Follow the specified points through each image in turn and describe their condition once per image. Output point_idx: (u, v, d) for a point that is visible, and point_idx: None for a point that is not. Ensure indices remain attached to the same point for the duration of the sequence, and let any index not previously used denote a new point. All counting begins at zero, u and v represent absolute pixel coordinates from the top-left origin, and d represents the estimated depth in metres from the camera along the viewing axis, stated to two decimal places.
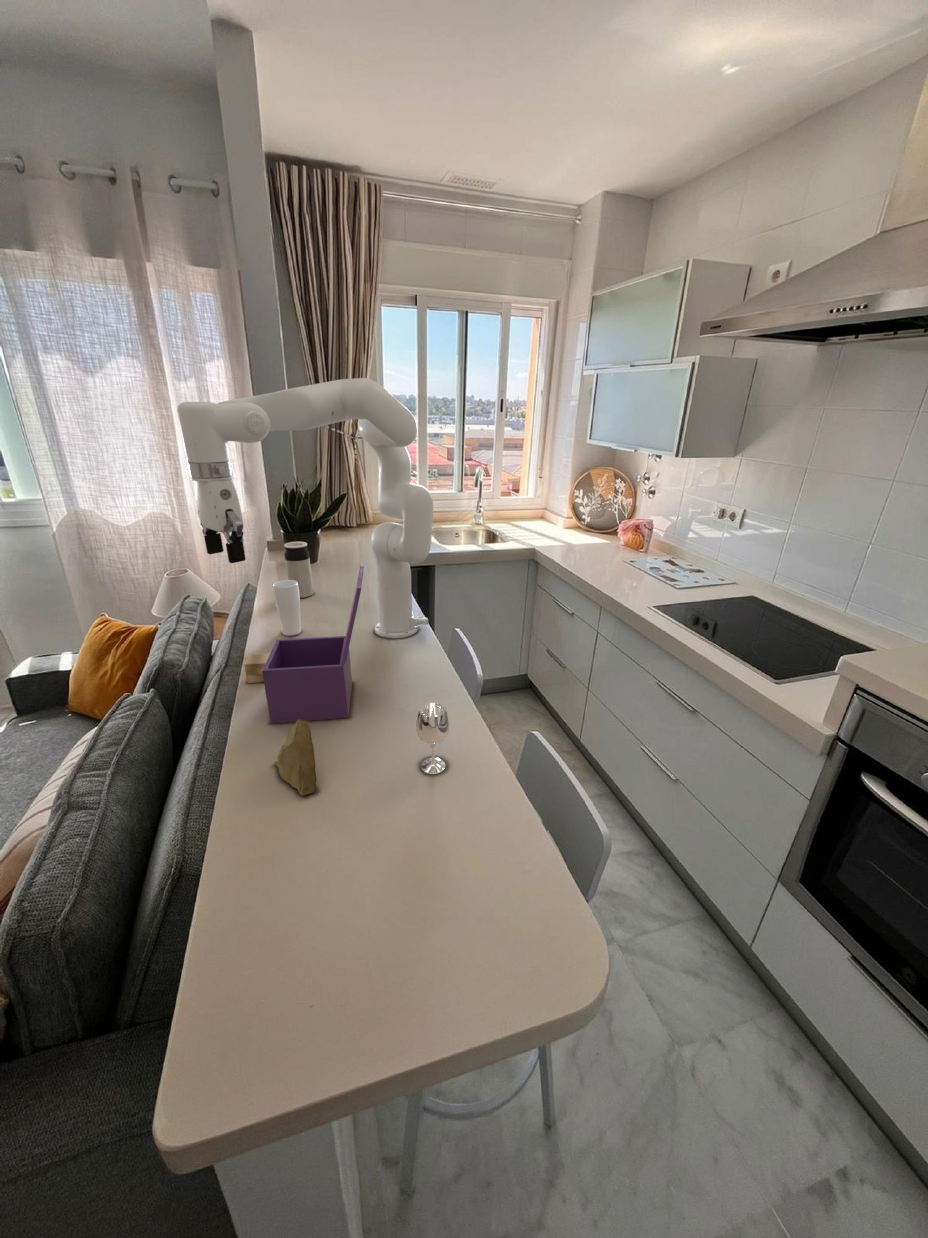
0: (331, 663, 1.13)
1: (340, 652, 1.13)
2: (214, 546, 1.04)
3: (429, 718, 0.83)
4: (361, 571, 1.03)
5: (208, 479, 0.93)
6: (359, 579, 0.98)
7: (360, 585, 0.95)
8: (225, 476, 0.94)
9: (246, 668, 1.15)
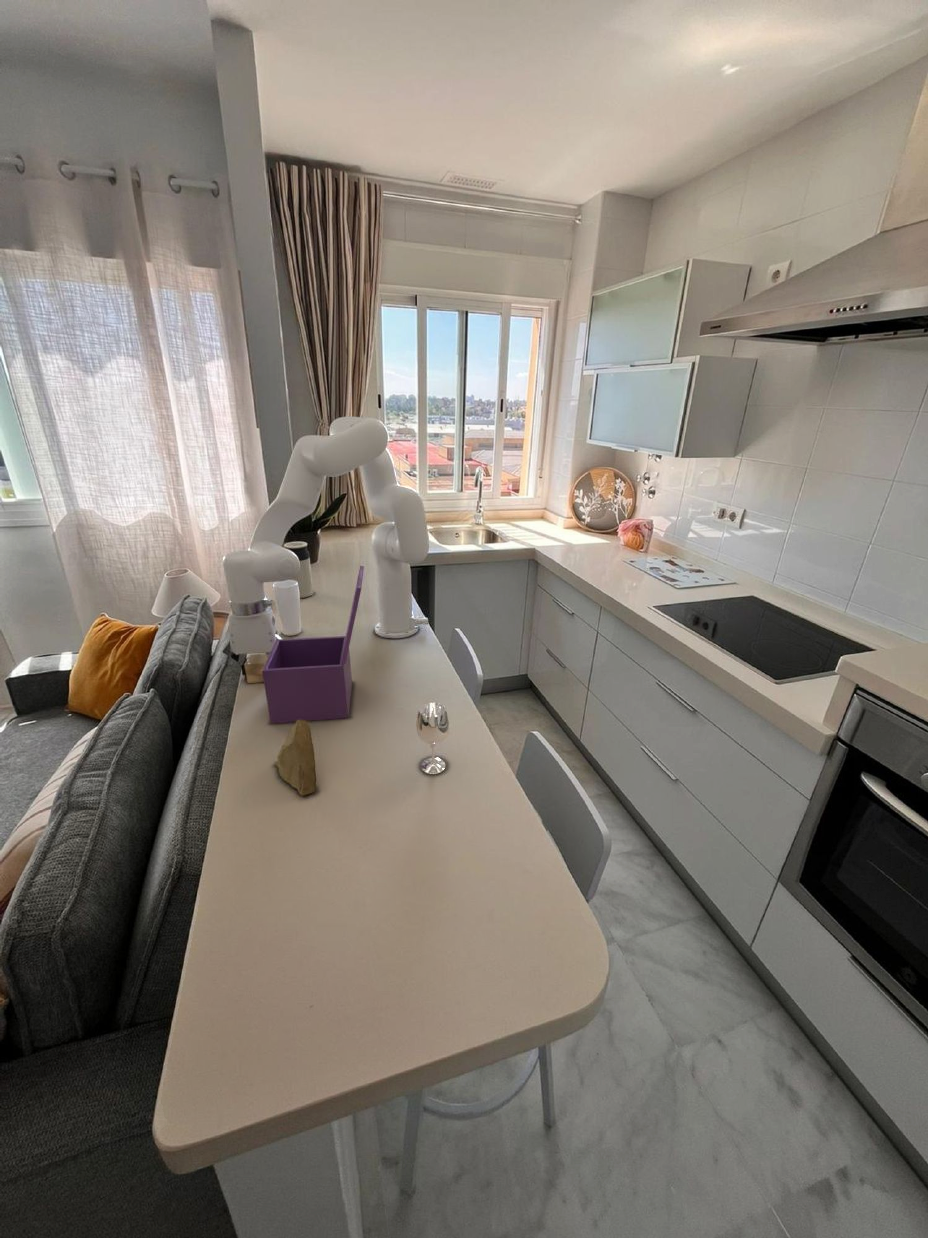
0: (331, 663, 1.13)
1: (340, 652, 1.13)
2: None
3: (429, 718, 0.83)
4: (361, 571, 1.03)
5: (262, 613, 1.11)
6: (359, 579, 0.98)
7: (360, 585, 0.95)
8: None
9: (246, 668, 1.15)
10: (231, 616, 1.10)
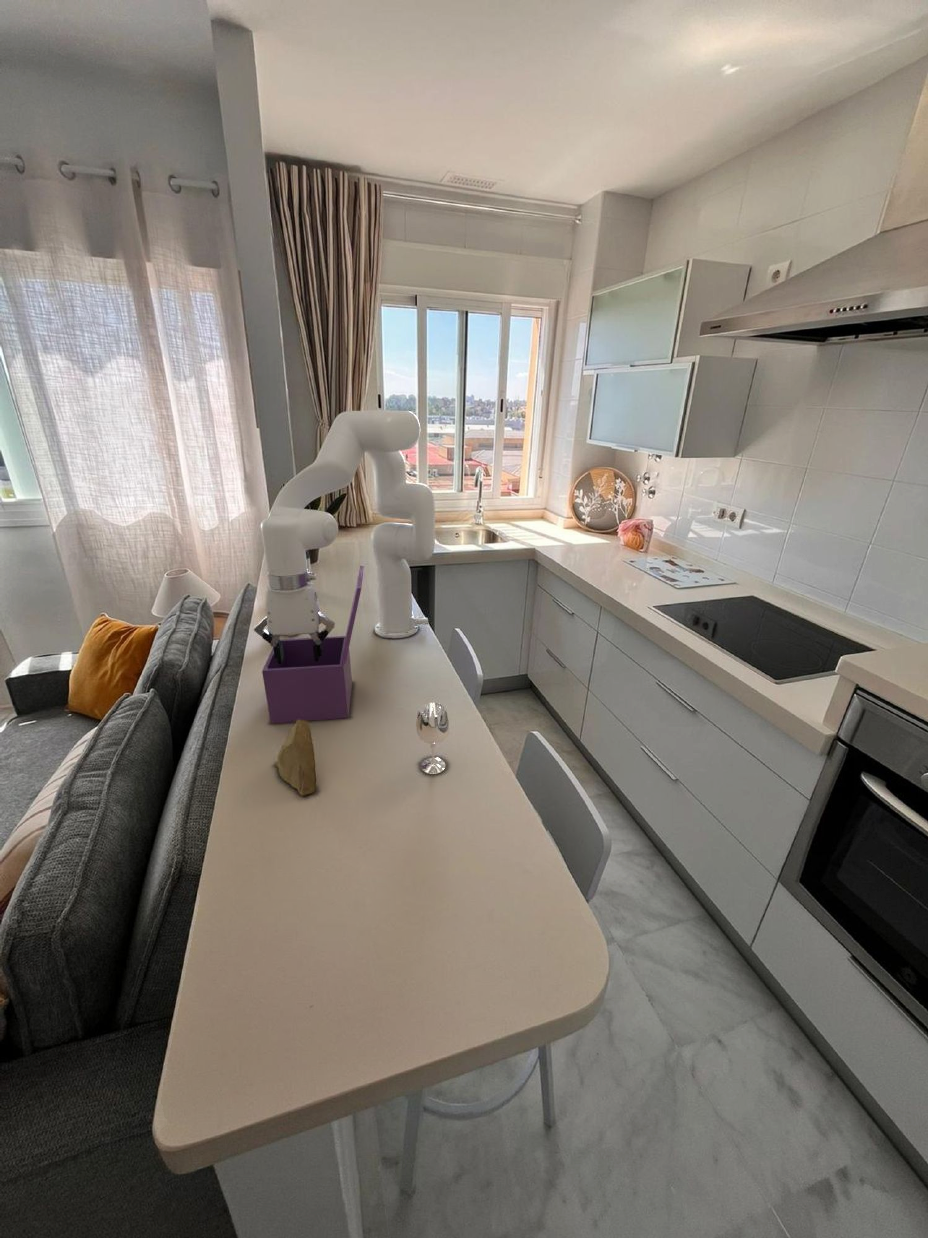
0: (331, 663, 1.13)
1: (340, 652, 1.13)
2: (282, 654, 1.04)
3: (429, 718, 0.83)
4: (361, 571, 1.03)
5: (304, 587, 0.97)
6: (359, 579, 0.98)
7: (360, 585, 0.95)
8: None
9: None
10: (269, 591, 0.96)
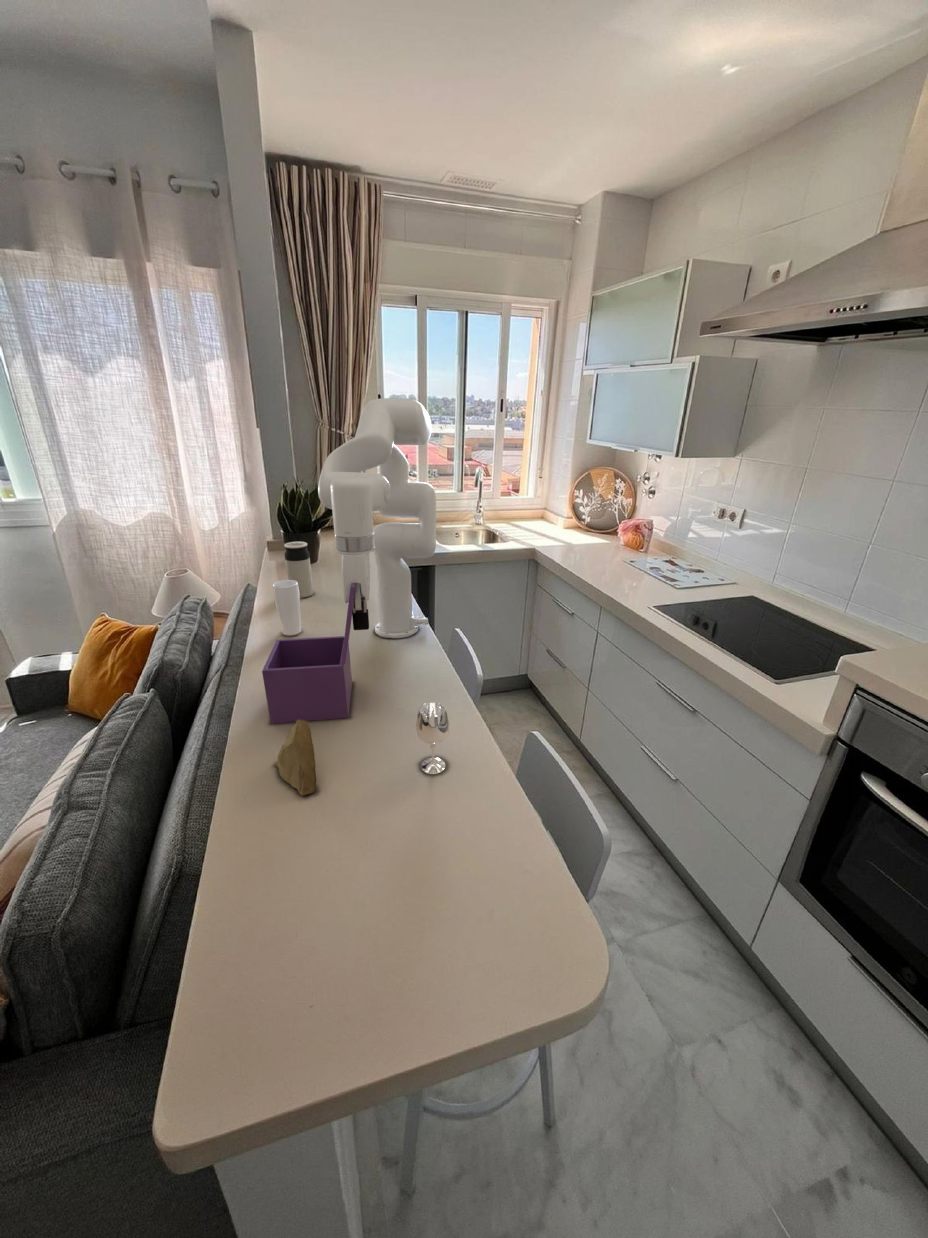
0: (331, 663, 1.13)
1: (340, 652, 1.13)
2: None
3: (429, 718, 0.83)
4: None
5: None
6: None
7: (354, 584, 0.94)
8: None
9: None
10: (365, 555, 0.95)
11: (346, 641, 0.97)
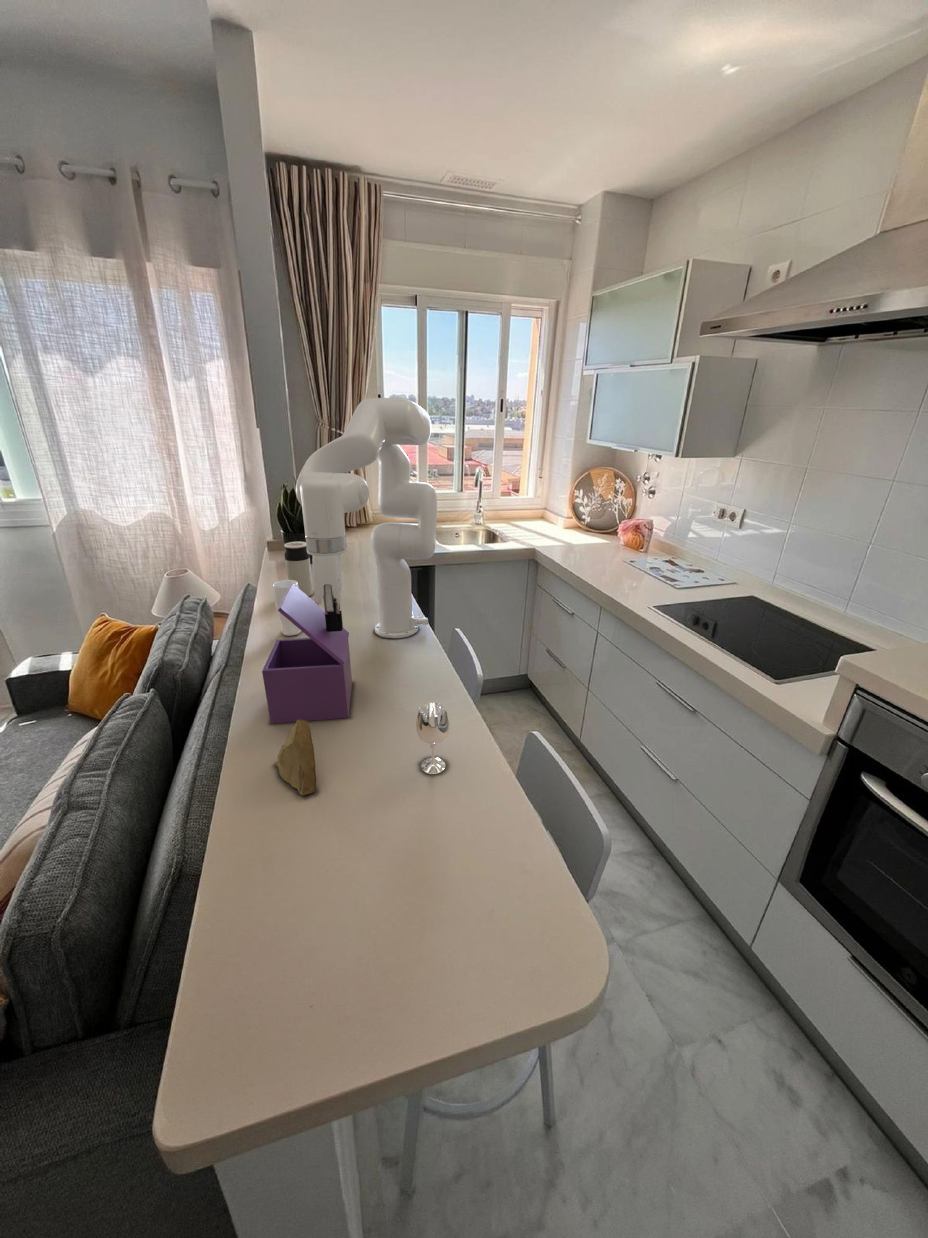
0: (331, 663, 1.13)
1: None
2: None
3: (429, 718, 0.83)
4: (288, 590, 1.02)
5: None
6: (283, 600, 0.97)
7: (280, 605, 0.94)
8: None
9: None
10: (336, 556, 0.94)
11: (324, 647, 0.97)
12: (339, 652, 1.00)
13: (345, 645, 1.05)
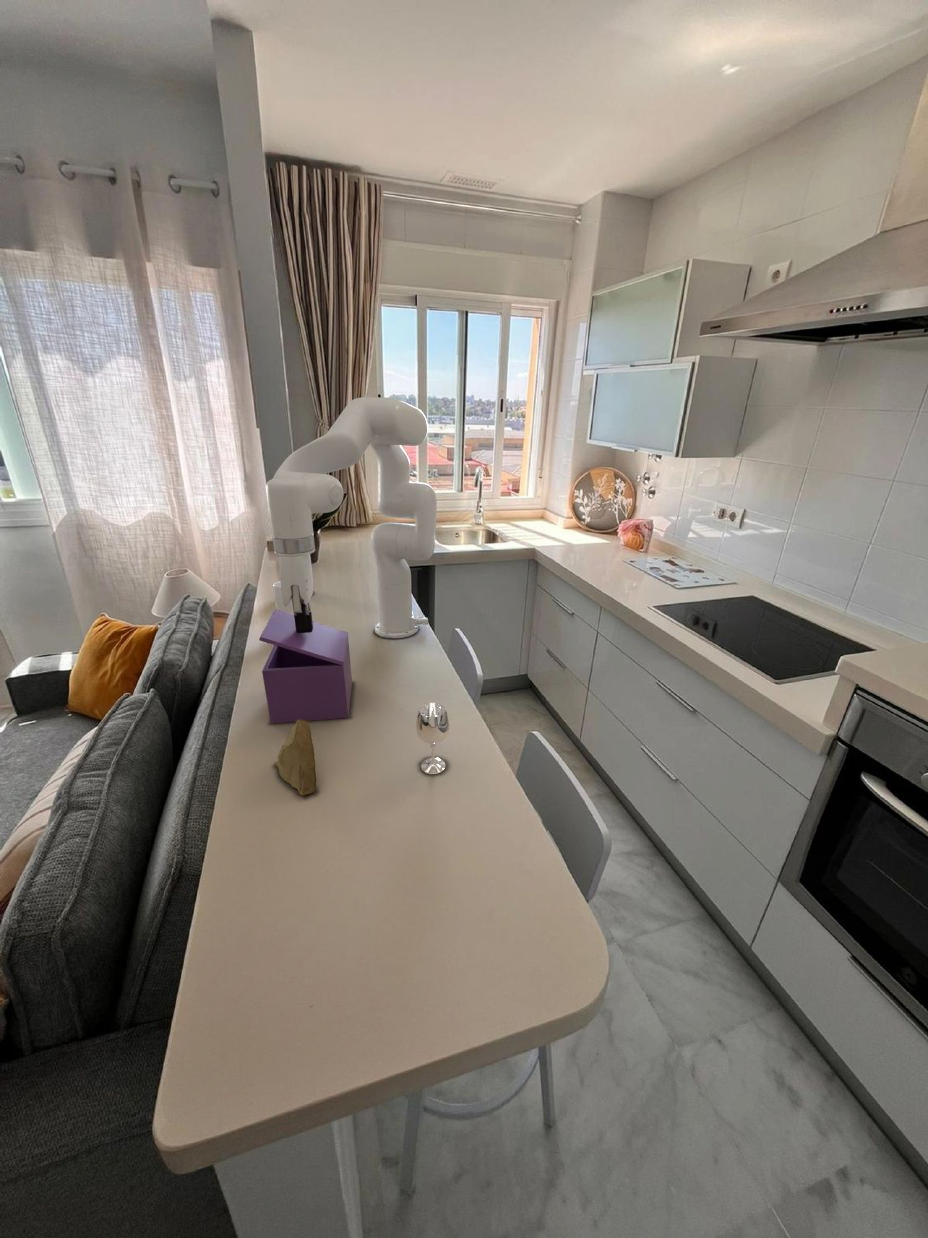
0: (331, 663, 1.13)
1: None
2: None
3: (429, 718, 0.83)
4: None
5: None
6: (265, 628, 0.99)
7: (261, 634, 0.95)
8: None
9: None
10: (303, 556, 0.93)
11: (318, 656, 0.97)
12: (337, 655, 1.00)
13: (344, 645, 1.05)
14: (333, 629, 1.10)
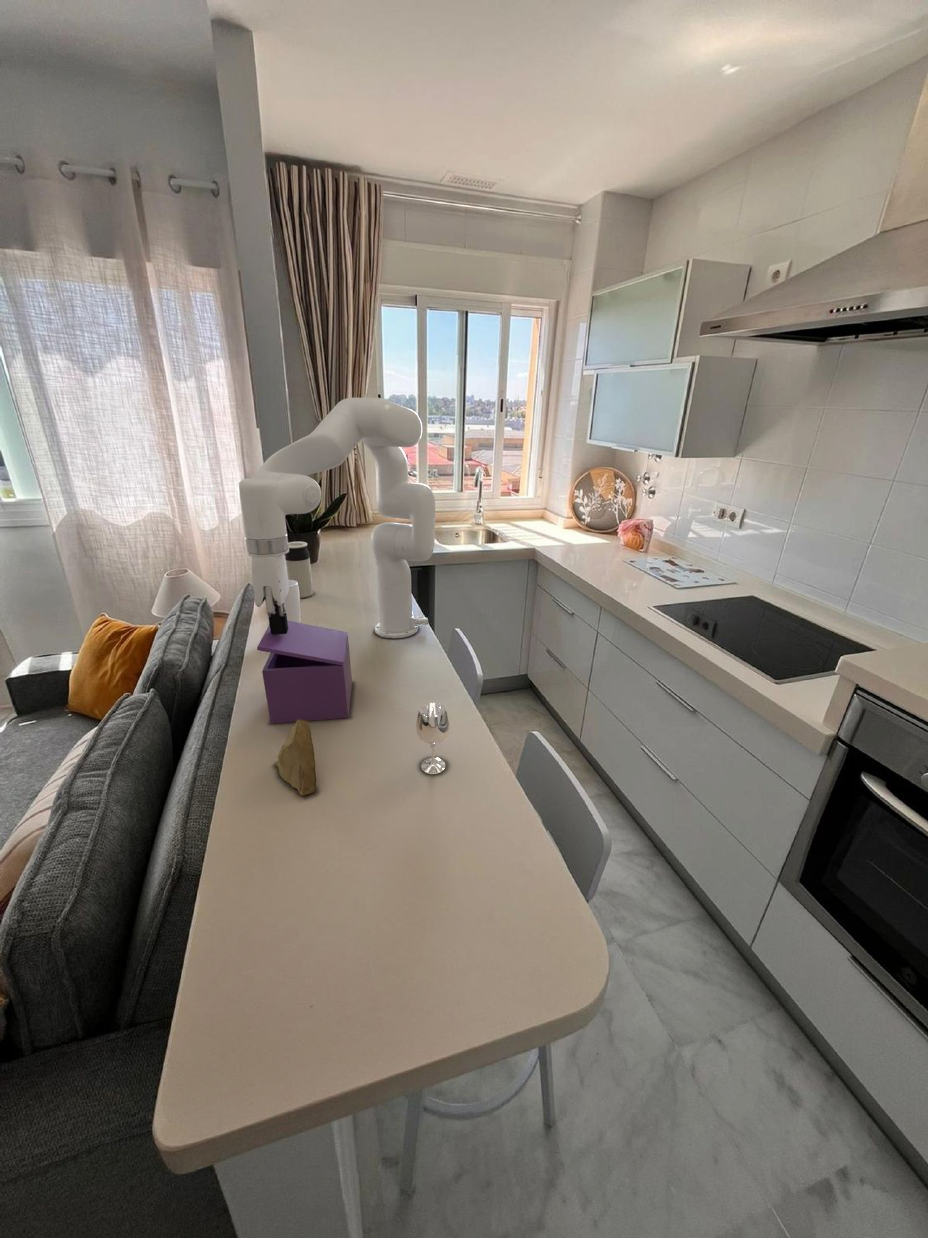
0: None
1: None
2: None
3: (429, 718, 0.83)
4: (268, 626, 1.04)
5: None
6: None
7: (259, 643, 0.96)
8: None
9: None
10: (275, 557, 0.92)
11: (317, 658, 0.97)
12: (336, 655, 1.00)
13: (343, 646, 1.05)
14: (332, 631, 1.10)
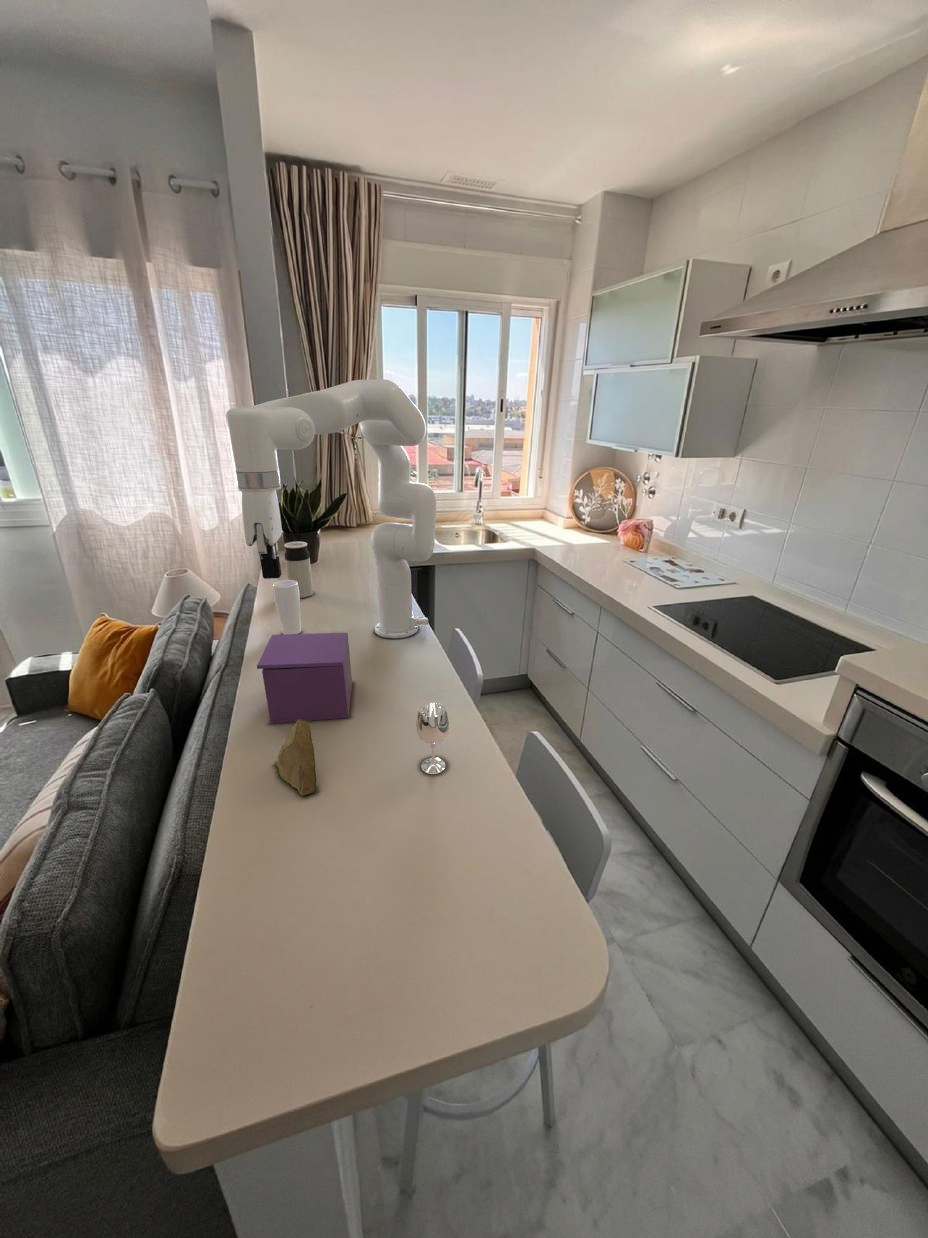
0: None
1: None
2: None
3: (429, 718, 0.83)
4: None
5: None
6: None
7: None
8: None
9: None
10: (267, 492, 0.88)
11: (317, 664, 0.98)
12: (335, 657, 1.00)
13: (343, 646, 1.05)
14: (331, 634, 1.10)
